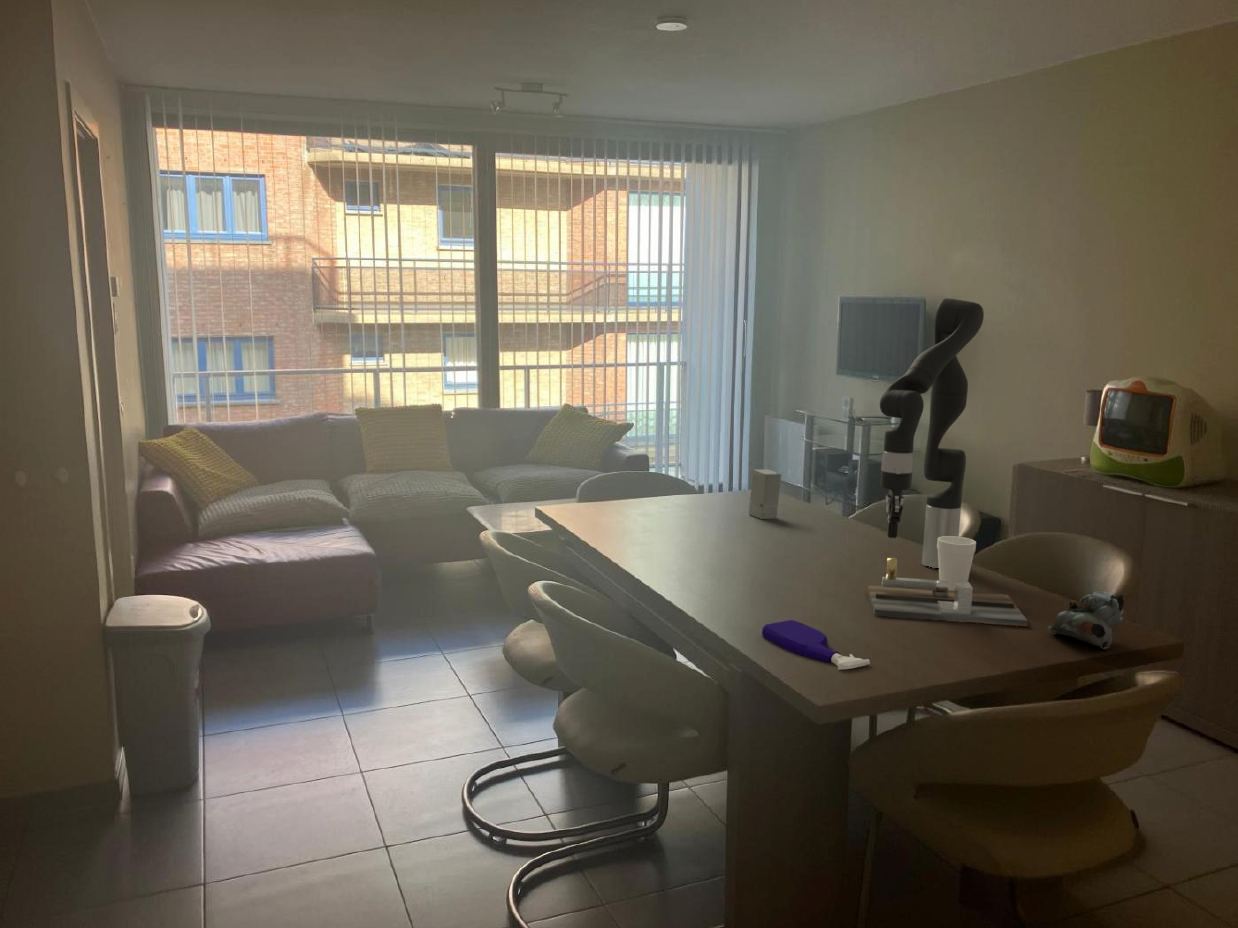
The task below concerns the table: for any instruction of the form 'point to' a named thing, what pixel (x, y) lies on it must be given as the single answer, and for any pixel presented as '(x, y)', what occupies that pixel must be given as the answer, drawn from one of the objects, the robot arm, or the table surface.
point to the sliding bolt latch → (925, 601)
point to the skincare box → (764, 494)
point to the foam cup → (955, 559)
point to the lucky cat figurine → (1091, 618)
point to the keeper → (958, 600)
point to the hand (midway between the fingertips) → (892, 537)
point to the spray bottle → (808, 643)
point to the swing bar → (910, 580)
